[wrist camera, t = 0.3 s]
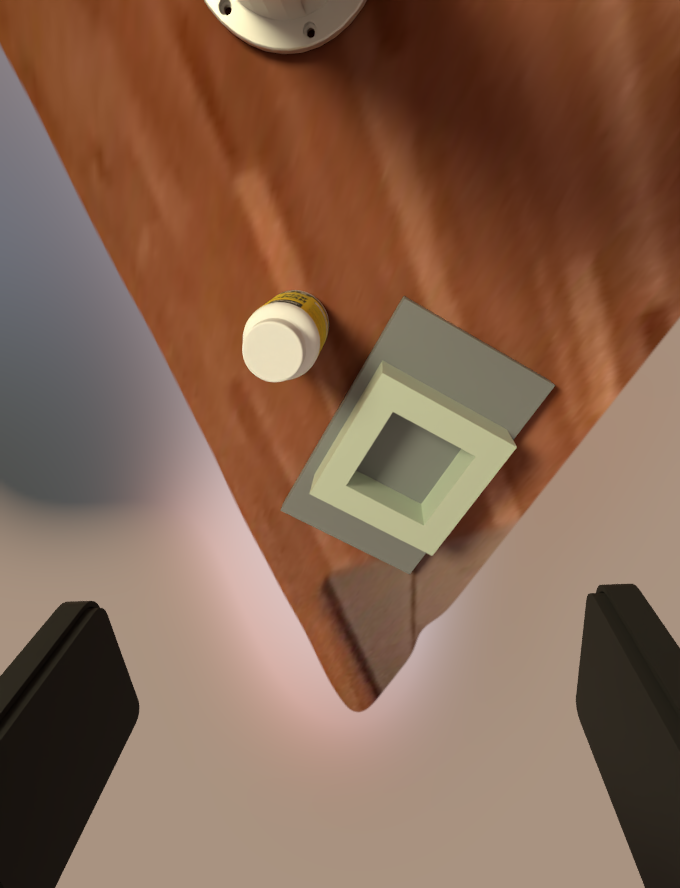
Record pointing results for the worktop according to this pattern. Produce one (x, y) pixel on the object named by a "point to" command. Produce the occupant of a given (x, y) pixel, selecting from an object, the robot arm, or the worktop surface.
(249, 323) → the supplement bottle
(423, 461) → the socket board
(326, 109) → the worktop surface
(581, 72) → the worktop surface
